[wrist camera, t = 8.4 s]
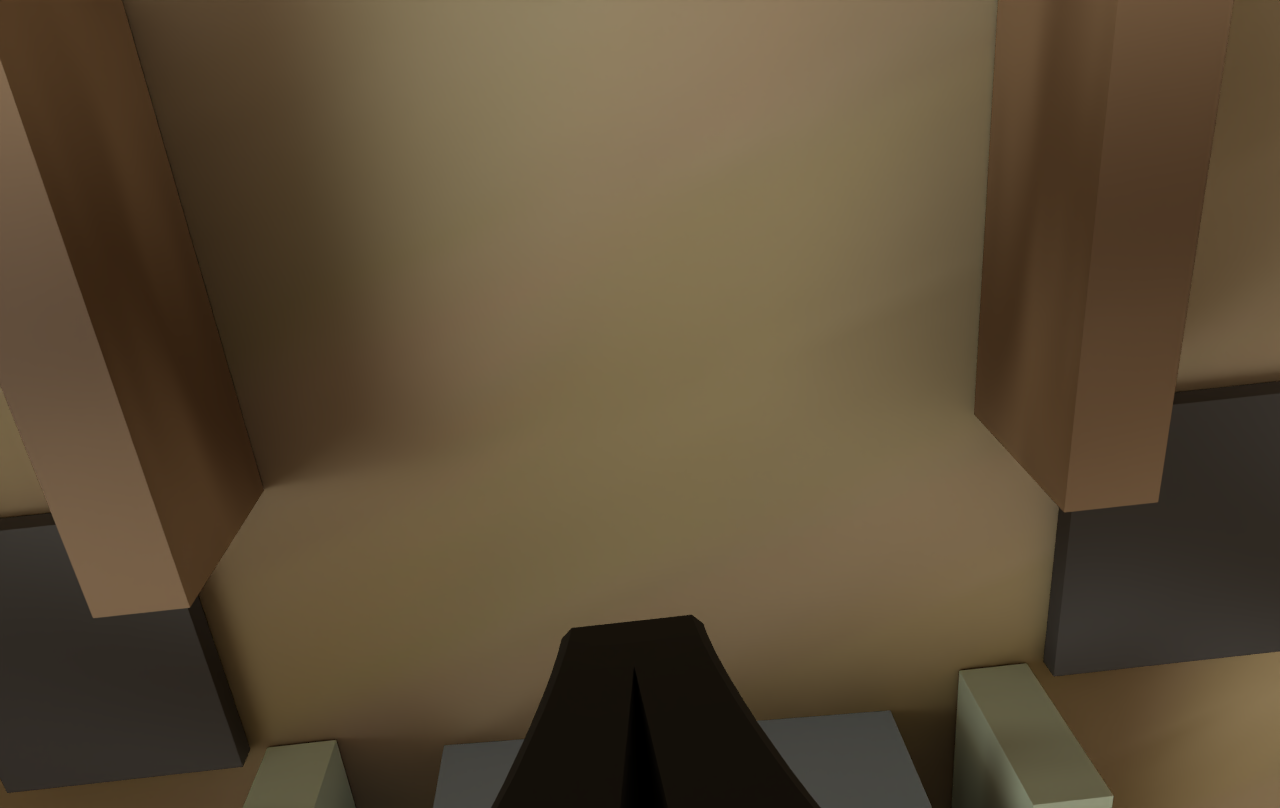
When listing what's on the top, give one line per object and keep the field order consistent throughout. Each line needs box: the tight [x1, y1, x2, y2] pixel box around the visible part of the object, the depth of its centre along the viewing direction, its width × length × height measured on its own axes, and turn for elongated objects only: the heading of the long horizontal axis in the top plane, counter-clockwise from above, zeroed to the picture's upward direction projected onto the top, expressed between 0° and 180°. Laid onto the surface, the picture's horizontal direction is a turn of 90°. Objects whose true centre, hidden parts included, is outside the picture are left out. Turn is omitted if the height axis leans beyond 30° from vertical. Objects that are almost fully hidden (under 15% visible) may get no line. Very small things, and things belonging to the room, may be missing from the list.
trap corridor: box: [0, 0, 1280, 808], centre depth 14 cm, size 18×22×3 cm
